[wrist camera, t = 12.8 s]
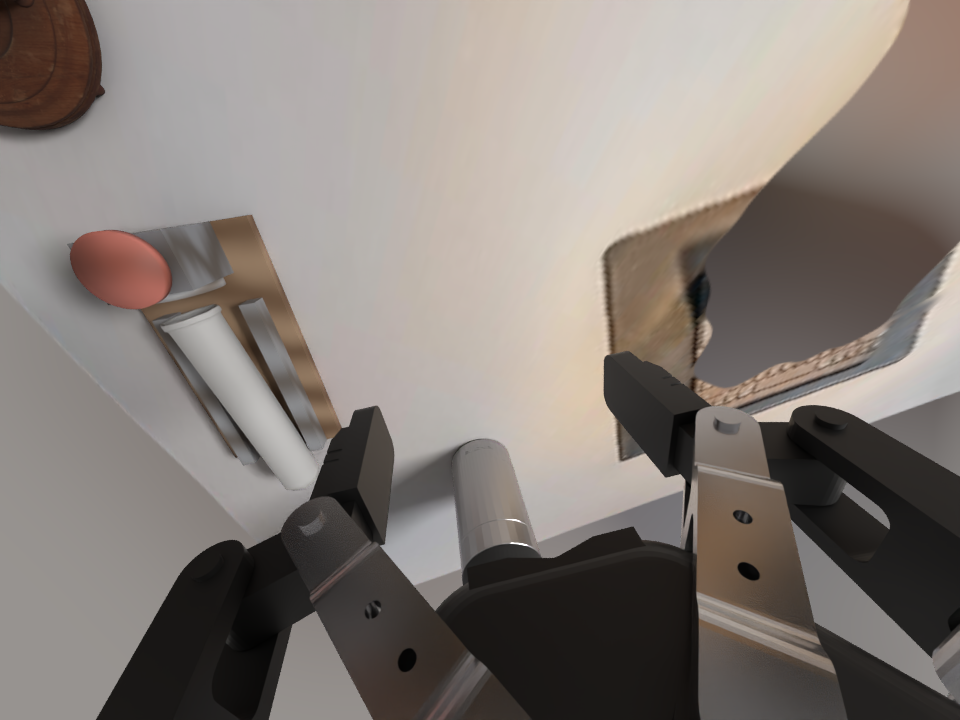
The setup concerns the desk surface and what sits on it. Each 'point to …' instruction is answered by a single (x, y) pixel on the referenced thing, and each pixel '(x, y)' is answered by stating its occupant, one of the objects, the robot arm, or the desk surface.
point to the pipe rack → (205, 281)
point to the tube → (243, 393)
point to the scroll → (47, 63)
